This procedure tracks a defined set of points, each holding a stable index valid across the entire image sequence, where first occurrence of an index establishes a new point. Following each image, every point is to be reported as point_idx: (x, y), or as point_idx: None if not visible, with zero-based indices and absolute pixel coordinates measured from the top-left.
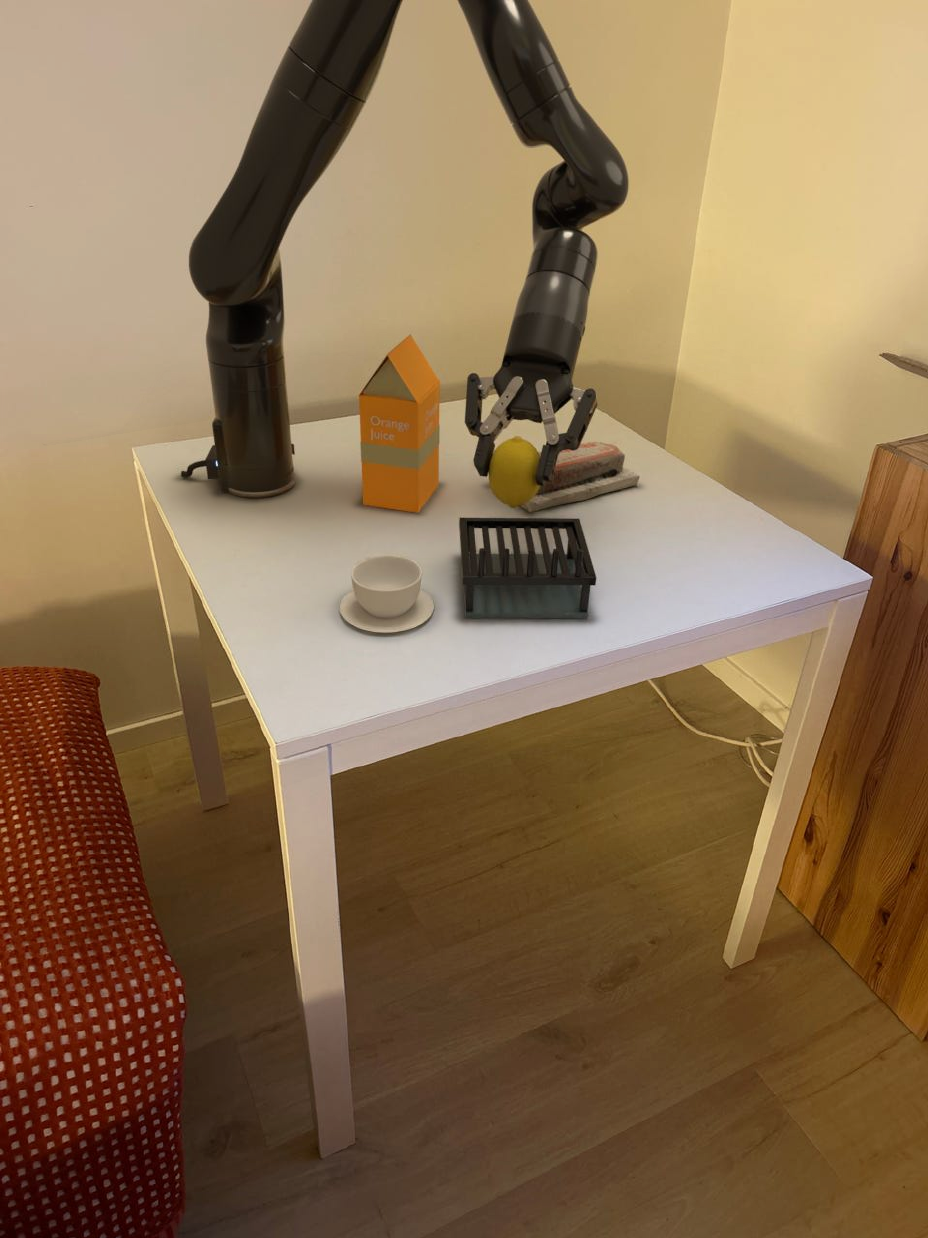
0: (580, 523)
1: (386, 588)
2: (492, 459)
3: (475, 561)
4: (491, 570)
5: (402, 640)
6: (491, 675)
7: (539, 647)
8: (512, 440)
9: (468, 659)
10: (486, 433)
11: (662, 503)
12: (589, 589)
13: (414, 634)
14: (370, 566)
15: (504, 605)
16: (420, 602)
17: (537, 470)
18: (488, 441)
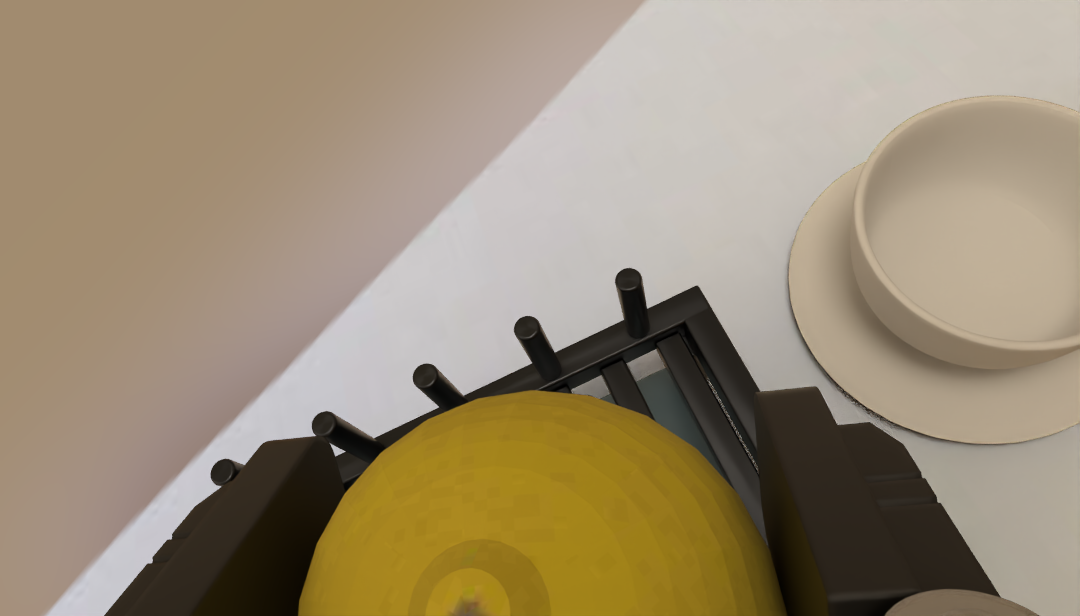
0: None
1: (1021, 330)
2: (723, 489)
3: (717, 444)
4: (624, 405)
5: (806, 178)
6: (511, 161)
7: (428, 324)
8: (522, 567)
9: (591, 189)
10: (915, 602)
11: None
12: None
13: (791, 217)
14: None
15: None
16: (868, 353)
17: (294, 462)
18: (834, 550)
